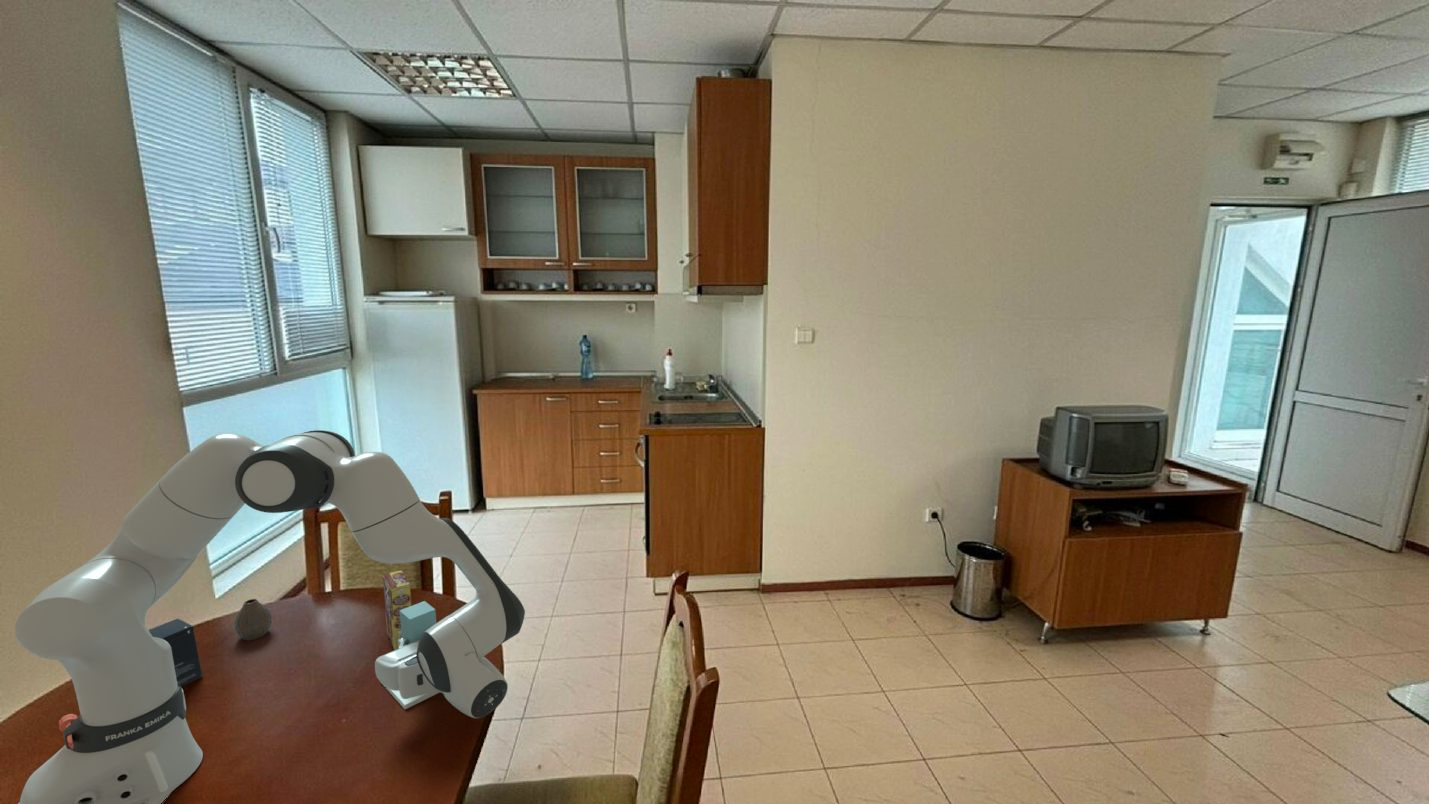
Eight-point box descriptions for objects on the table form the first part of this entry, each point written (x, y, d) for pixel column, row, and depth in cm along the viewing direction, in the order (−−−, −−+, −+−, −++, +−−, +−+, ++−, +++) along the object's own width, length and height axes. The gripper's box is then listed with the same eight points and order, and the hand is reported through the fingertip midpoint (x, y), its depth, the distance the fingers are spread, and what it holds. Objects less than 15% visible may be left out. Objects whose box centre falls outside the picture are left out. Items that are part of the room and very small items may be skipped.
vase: (228, 641, 134) (223, 606, 132) (259, 625, 140) (255, 591, 139) (250, 646, 132) (245, 611, 130) (280, 630, 138) (276, 596, 137)
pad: (405, 709, 113) (404, 705, 112) (381, 682, 120) (380, 678, 120) (465, 679, 122) (464, 675, 121) (439, 656, 129) (438, 652, 129)
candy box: (415, 645, 133) (410, 583, 131) (394, 652, 131) (389, 589, 128) (407, 628, 140) (401, 569, 137) (386, 634, 137) (381, 574, 135)
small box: (187, 667, 124) (179, 616, 122) (204, 677, 121) (195, 625, 119) (103, 705, 113) (92, 650, 111) (119, 717, 110) (108, 660, 108)
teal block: (415, 682, 117) (409, 619, 115) (405, 672, 120) (399, 610, 118) (440, 671, 121) (435, 609, 118) (429, 661, 124) (424, 601, 122)
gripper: (498, 624, 118) (465, 601, 127) (391, 672, 103) (362, 642, 112) (500, 652, 119) (467, 627, 128) (394, 704, 104) (365, 671, 113)
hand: (417, 634), depth 120 cm, fingers closed on teal block, 5 cm apart
